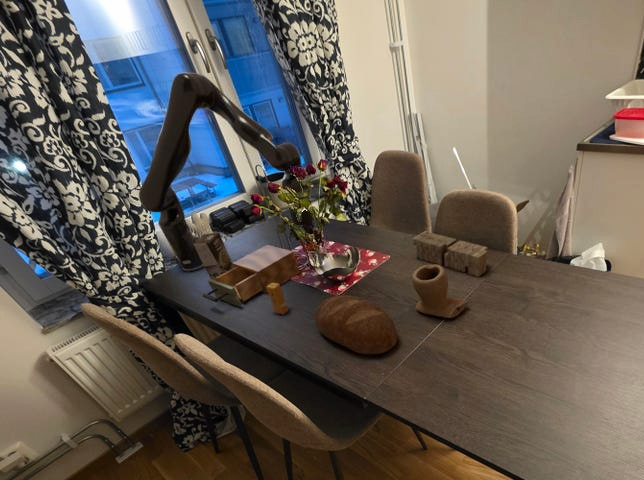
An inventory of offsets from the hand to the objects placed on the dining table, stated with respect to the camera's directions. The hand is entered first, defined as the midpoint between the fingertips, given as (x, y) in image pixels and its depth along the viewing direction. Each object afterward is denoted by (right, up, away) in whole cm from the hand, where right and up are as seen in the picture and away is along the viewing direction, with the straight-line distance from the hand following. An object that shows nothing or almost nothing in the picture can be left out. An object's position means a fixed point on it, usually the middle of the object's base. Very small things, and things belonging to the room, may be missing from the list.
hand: (312, 252), depth 147 cm
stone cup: (+47, -26, -26) cm, 60 cm away
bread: (+22, -33, -31) cm, 51 cm away
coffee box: (-36, -9, +5) cm, 37 cm away
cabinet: (-16, -10, 0) cm, 19 cm away
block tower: (+52, -5, -4) cm, 53 cm away
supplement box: (-5, -25, -18) cm, 31 cm away
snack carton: (+1, -4, +4) cm, 5 cm away
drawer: (-24, -18, -9) cm, 31 cm away
